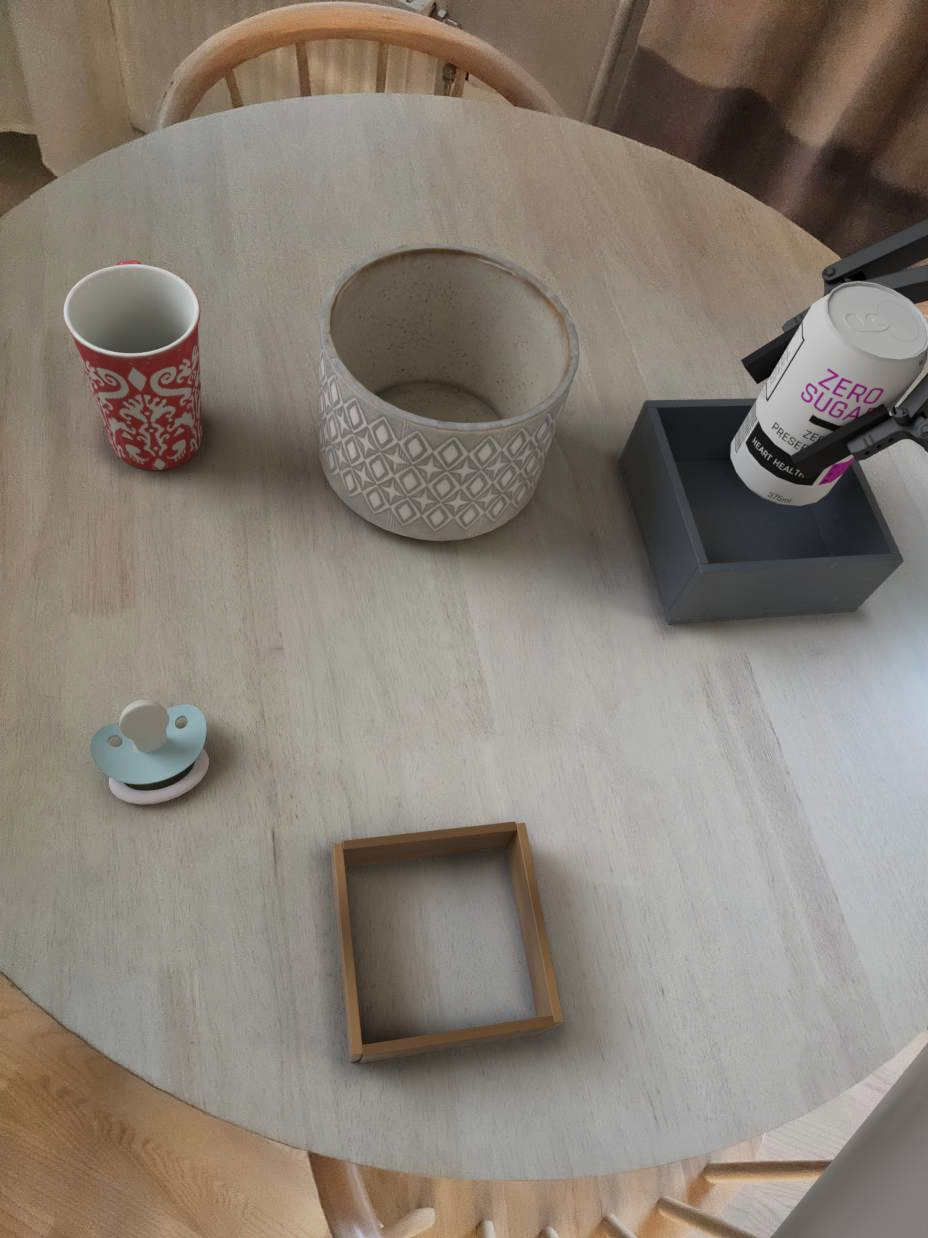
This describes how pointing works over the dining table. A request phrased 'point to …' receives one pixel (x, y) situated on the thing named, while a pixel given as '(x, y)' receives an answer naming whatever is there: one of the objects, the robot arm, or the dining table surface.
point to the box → (529, 918)
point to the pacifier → (152, 750)
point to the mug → (141, 360)
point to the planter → (440, 388)
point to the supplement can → (829, 386)
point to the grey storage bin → (744, 524)
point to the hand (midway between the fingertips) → (773, 418)
